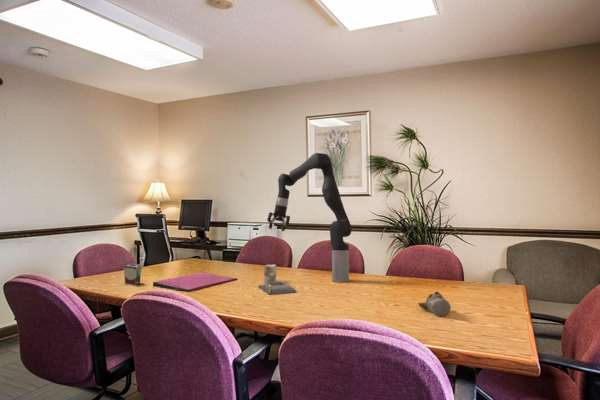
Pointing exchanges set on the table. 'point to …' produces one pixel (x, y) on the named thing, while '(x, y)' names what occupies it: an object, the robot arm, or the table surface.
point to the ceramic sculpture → (436, 304)
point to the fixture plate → (276, 288)
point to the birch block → (269, 273)
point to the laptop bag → (192, 282)
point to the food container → (132, 273)
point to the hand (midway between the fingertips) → (276, 230)
